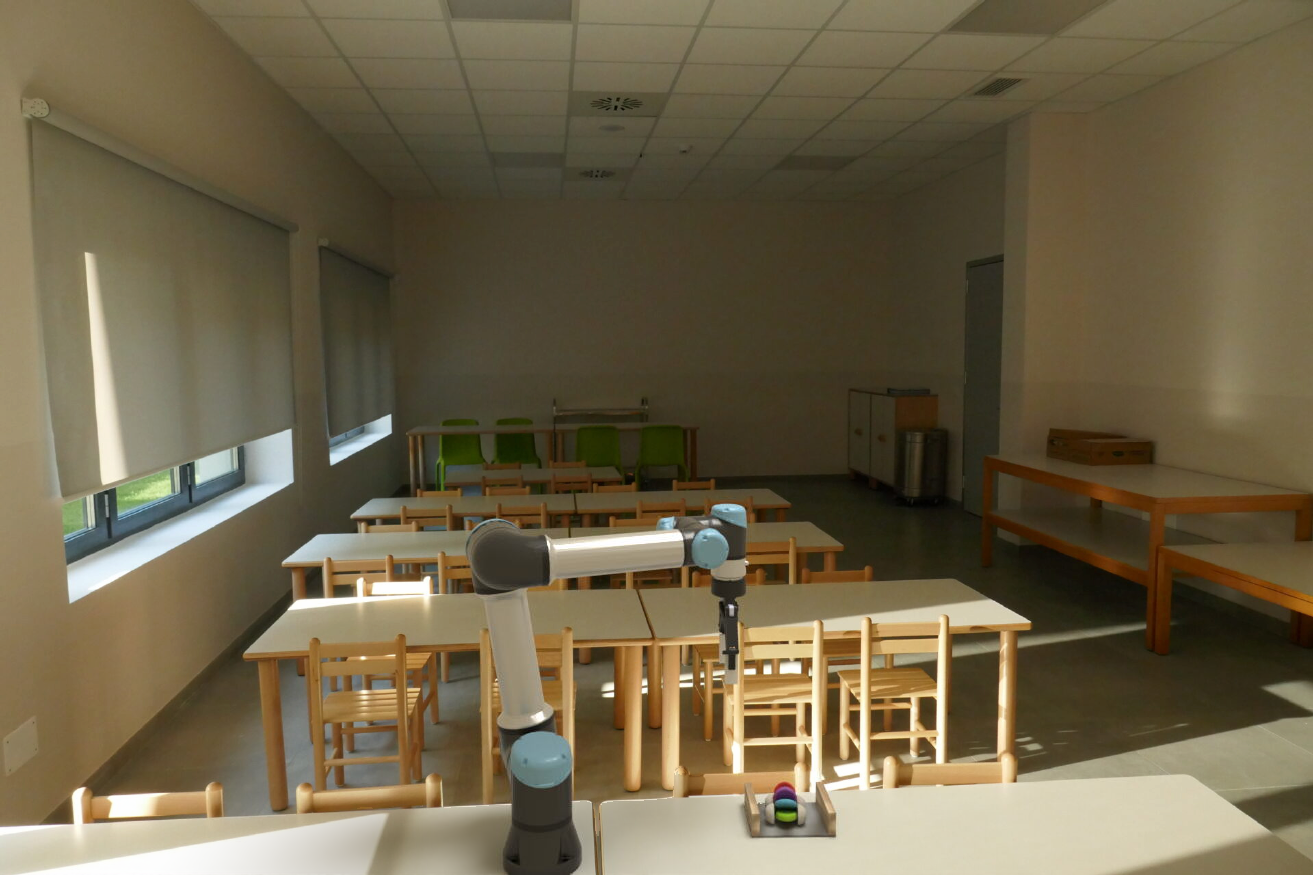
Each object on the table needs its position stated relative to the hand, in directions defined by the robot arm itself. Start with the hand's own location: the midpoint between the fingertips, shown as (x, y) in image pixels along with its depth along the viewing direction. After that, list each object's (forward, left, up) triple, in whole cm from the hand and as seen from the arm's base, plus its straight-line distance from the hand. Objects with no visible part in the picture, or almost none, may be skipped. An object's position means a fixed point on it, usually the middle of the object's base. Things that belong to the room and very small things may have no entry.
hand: (728, 672), depth 203 cm
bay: (+12, -9, -29) cm, 32 cm away
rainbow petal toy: (+11, -9, -28) cm, 32 cm away
